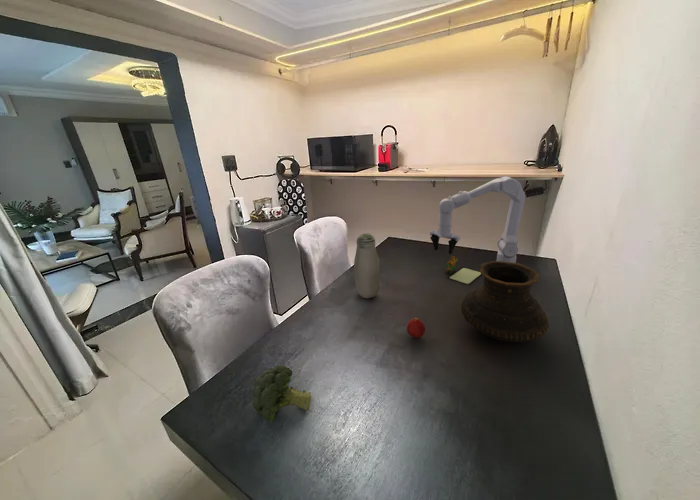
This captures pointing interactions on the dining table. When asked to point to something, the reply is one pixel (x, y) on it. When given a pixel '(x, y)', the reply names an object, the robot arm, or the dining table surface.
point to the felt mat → (465, 275)
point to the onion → (416, 328)
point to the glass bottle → (366, 267)
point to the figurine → (451, 264)
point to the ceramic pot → (506, 304)
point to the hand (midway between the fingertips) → (443, 251)
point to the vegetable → (277, 393)
